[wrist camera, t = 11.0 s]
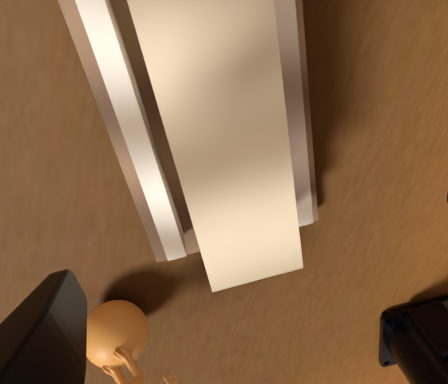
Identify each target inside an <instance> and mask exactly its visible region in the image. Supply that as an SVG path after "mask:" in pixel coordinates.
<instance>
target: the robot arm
mask: <svg viewBox="0 0 448 384" xmlns="http://www.w3.org/2000/svg"><path fill="white" fill-rule="evenodd" d="M447 202H448V194H447ZM86 353H87V299H86V296H85V293H84V292H83V290H82V288H81V286H80V284H79V282H78V281H77V279H76V277H75V275H74V273H73V272H72V271H71V270H68V269H66V270H62V271H58V272H54V273H51V274H50V275H48V276H47V277H46V278H45V279H44V281H43V282H42V283H41V284H40V285H39V286H38V287H37V288H36V289H35V290H34V291H33V292H32V293H31V294H30V295H29V296H28V297H27V298H26V299H25V300H24V301H23V302H22V303H21V304H20V305H19V306H18V307H17V308H16V309H15V310H14V311H13V312H12V313H11V314H10V315H9V316H8V317H7V318H6V319H5V320H4V321H3V322H2V323H1V324H0V384H84V382H85V373H86ZM379 363H380V364H381V366H382V367H387V366H390V365H394V364H397V365H398V366H399V368H400V369H401V371H402V372H403V374H404V375H405V377H406V378H407V380H408V382H409V383H410V384H448V296H445V297H441V298H437V299H434V300H430V301H427V302H423V303H419V304H416V305H412V306H409V307H405V308H401V309H398V310H394V311H390V312H387V313H384V314H383V315H382V316H381V318H380V340H379Z"/></svg>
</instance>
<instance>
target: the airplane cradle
mask: <svg viewBox="0 0 448 384" xmlns="http://www.w3.org/2000/svg"><path fill="white" fill-rule="evenodd" d="M58 2H59V4H60V7H61V10H62V12H63V15H64V17H65V20H66V23H67V25H68V28H69V31H70V33H71V36H72V39H73V41H74V44H75V47H76V49H77V52H78V54H79V57H80V60H81V62H82V65H83V68H84V70H85V73H86V76H87V78H88V81H89V84H90V86H91V89H92V92H93V94H94V97H95V99H96V102H97V105H98V107H99V110H100V113H101V115H102V118H103V121H104V123H105V126H106V129H107V131H108V134H109V136H110V139H111V142H112V144H113V147H114V150H115V152H116V155H117V158H118V160H119V163H120V166H121V168H122V171H123V173H124V176H125V179H126V181H127V184H128V187H129V189H130V192H131V195H132V197H133V200H134V203H135V205H136V208H137V211H138V213H139V216H140V218H141V221H142V224H143V226H144V229H145V232H146V234H147V237H148V240H149V242H150V245H151V248H152V250H153V253H154V255H155V258H156V261H157V262H161V261H165V260H168V261H170V260H174V259H178V258H182V257H186V255H188V254H192V253H195V252H199V251H200V248H199V245H198V241H197V238H196V234H195V231H194V228H193V224H192V221H191V217H190V214H189V211H188V207H187V204H186V200H185V197H184V194H183V190H182V187H181V183H180V180H179V176H178V173H177V170H176V166H175V163H174V159H173V156H172V153H171V149H170V146H169V142H168V139H167V135H166V132H165V129H164V125H163V122H162V118H161V115H160V112H159V108H158V105H157V101H156V98H155V95H154V91H153V88H152V84H151V81H150V77H149V74H148V71H147V67H146V64H145V60H144V57H143V54H142V50H141V47H140V43H139V40H138V37H137V33H136V30H135V26H134V23H133V19H132V16H131V13H130V9H129V6H128V2H127V0H58ZM274 6H275V15H276V24H277V33H278V43H279V52H280V61H281V70H282V79H283V88H284V97H285V107H286V116H287V125H288V134H289V143H290V152H291V161H292V170H293V180H294V189H295V198H296V207H297V216H298V225H299V227H300V226H304V225H308V224H311V223H313V222H314V221H318V208H317V194H316V181H315V167H314V153H313V140H312V126H311V112H310V99H309V85H308V71H307V57H306V44H305V30H304V16H303V3H302V0H274Z"/></svg>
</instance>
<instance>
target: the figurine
mask: <svg viewBox="0 0 448 384" xmlns="http://www.w3.org/2000/svg"><path fill="white" fill-rule="evenodd" d="M148 334H149V328H148V322H147V319H146V317H145V315H144V313H143V312H142V311H141V309H140V308H139V307H137V306H136V305H135V304H133V303H131V302H128V301H125V300H112V301H108V302H105V303H103V304H101V305H100V306H98V307H97V308H95V309H94V310H93V311H92V312H91V313H90V315H89V316H88V317H87V353H86V356H87V357H88V359H89V360H90V361H91V362H92V363H94V364H95V365H97V366H99V367H101V368H102V369H103V371H104V372H105V373H107V374H110V375H111V376H112V377H113V378H114V379H115V381H116V382H117V384H127V382H126V380H125V378H124V376H123V374H122V372H121V368H122V367H125V366H127V367H128V369H129V370H130V372H131V373H132V375H133V376H134V378H133V379H132V380H131V381H130V382H129V383H128V384H144V382H143V379H142V373H141V371H140V369H139V367H138V366H137V364H136V362H135V360H136V359H137V358H138V357H139V356H140V354H141V353H142V352H143V350H144V348H145V346H146V343H147V340H148ZM168 375H169V377H170V380H171V382H169V381H168V380H167V379H166V377H165V376H163V378H164V379H165V381H166V383H167V384H179V382H178V379H177V376H176V374H175V372H174V377H175V380H173V378H172V376H171V374H170V373H168Z"/></svg>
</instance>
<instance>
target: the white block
mask: <svg viewBox="0 0 448 384" xmlns="http://www.w3.org/2000/svg"><path fill="white" fill-rule="evenodd" d="M127 2H128V6H129V9H130V13H131V16H132V19H133V23H134V26H135V30H136V33H137V37H138V40H139V43H140V47H141V50H142V54H143V57H144V60H145V64H146V67H147V71H148V74H149V77H150V81H151V84H152V88H153V91H154V95H155V98H156V101H157V105H158V108H159V112H160V115H161V118H162V122H163V125H164V129H165V132H166V135H167V139H168V142H169V146H170V149H171V153H172V156H173V159H174V163H175V166H176V170H177V173H178V176H179V180H180V183H181V187H182V190H183V194H184V197H185V200H186V204H187V207H188V211H189V214H190V217H191V221H192V224H193V228H194V231H195V234H196V238H197V241H198V245H199V248H200V252H201V255H202V258H203V262H204V265H205V269H206V272H207V275H208V279H209V282H210V286H211V289H212V292H215V291H219V290H222V289H226V288H230V287H234V286H237V285H241V284H245V283H248V282H252V281H256V280H260V279H263V278H267V277H271V276H275V275H278V274H282V273H286V272H289V271H293V270H297V269H301V268H303V262H302V253H301V244H300V234H299V225H298V216H297V207H296V198H295V189H294V180H293V170H292V161H291V152H290V143H289V134H288V125H287V116H286V107H285V97H284V88H283V79H282V70H281V61H280V52H279V43H278V33H277V24H276V15H275V6H274V0H127Z"/></svg>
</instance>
